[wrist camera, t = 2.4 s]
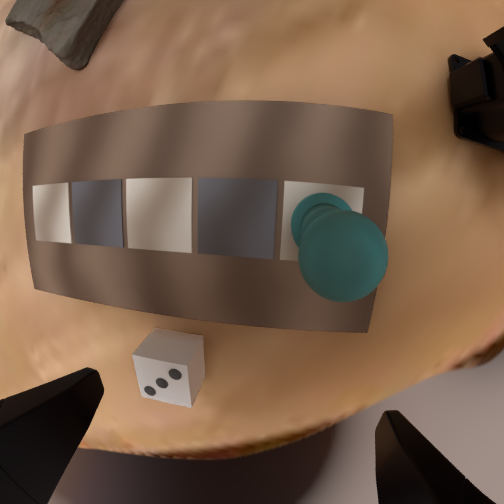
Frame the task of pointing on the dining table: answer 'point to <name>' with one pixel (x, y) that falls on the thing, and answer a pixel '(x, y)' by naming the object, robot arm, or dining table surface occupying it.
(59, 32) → the marble piece
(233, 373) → the dining table surface
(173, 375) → the die
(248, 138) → the board
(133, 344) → the dining table surface
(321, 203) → the pawn
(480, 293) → the dining table surface
